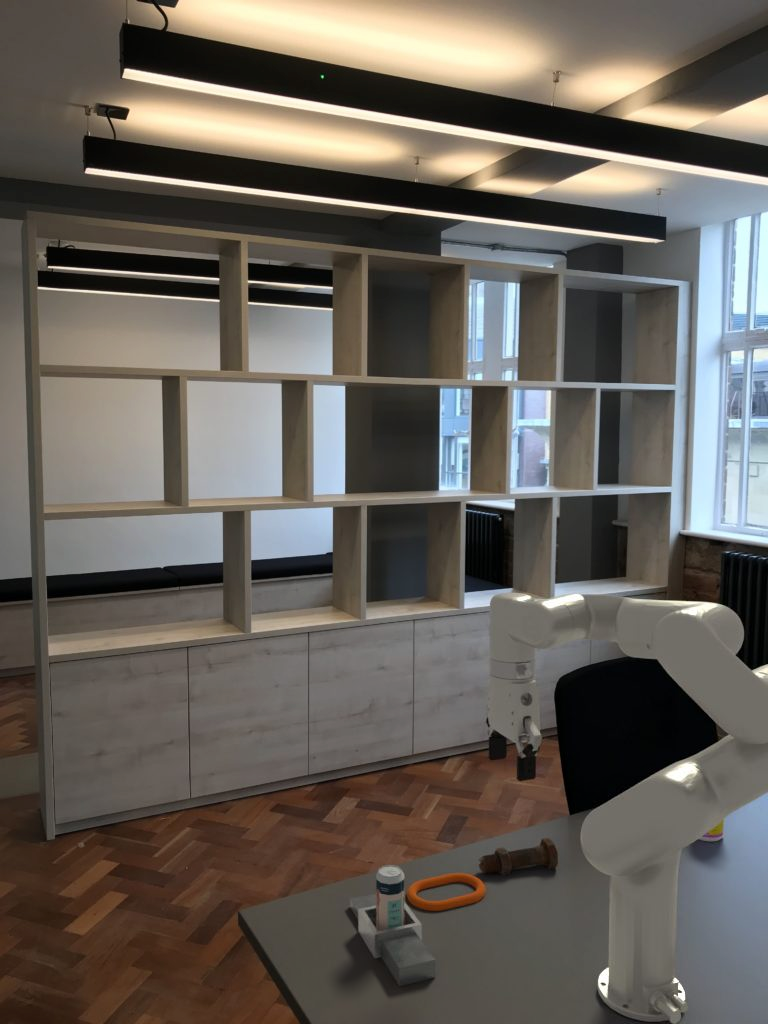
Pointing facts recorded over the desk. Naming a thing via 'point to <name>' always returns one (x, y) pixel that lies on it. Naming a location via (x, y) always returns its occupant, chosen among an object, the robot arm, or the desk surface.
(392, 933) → the bar with square collar
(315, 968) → the desk surface
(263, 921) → the desk surface
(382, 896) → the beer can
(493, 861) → the bolt
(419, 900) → the metal ring
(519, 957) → the desk surface
